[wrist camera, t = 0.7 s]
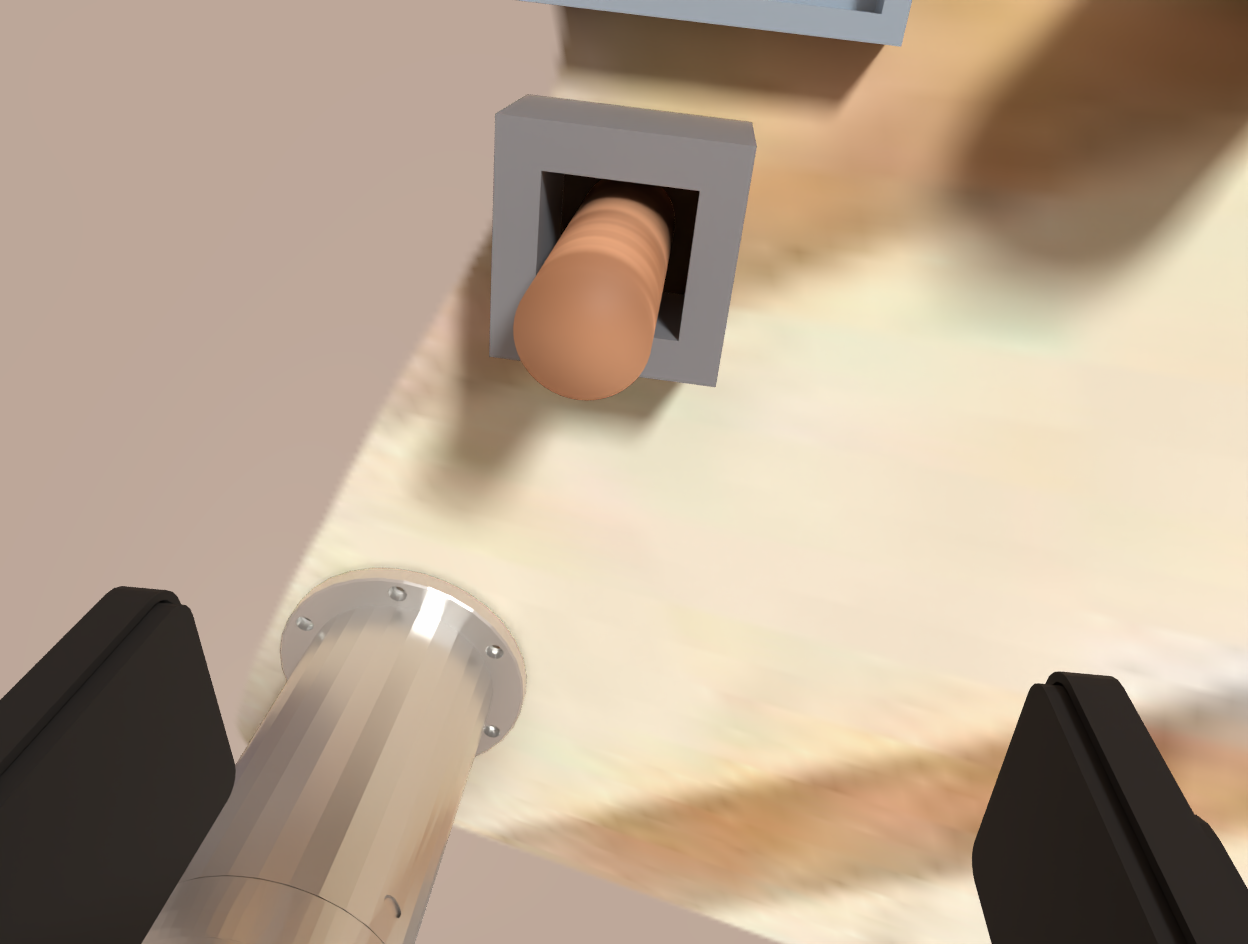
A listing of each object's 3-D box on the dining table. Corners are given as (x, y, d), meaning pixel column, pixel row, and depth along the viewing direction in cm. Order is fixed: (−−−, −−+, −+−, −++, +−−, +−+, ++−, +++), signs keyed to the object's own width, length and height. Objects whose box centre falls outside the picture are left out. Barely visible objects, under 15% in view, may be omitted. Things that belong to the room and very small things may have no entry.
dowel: (669, 274, 33) (643, 408, 23) (576, 262, 34) (510, 390, 23) (681, 178, 32) (660, 277, 21) (584, 166, 32) (515, 258, 21)
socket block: (716, 335, 34) (715, 387, 30) (518, 309, 35) (489, 356, 30) (752, 122, 30) (756, 146, 26) (527, 94, 31) (495, 113, 26)
